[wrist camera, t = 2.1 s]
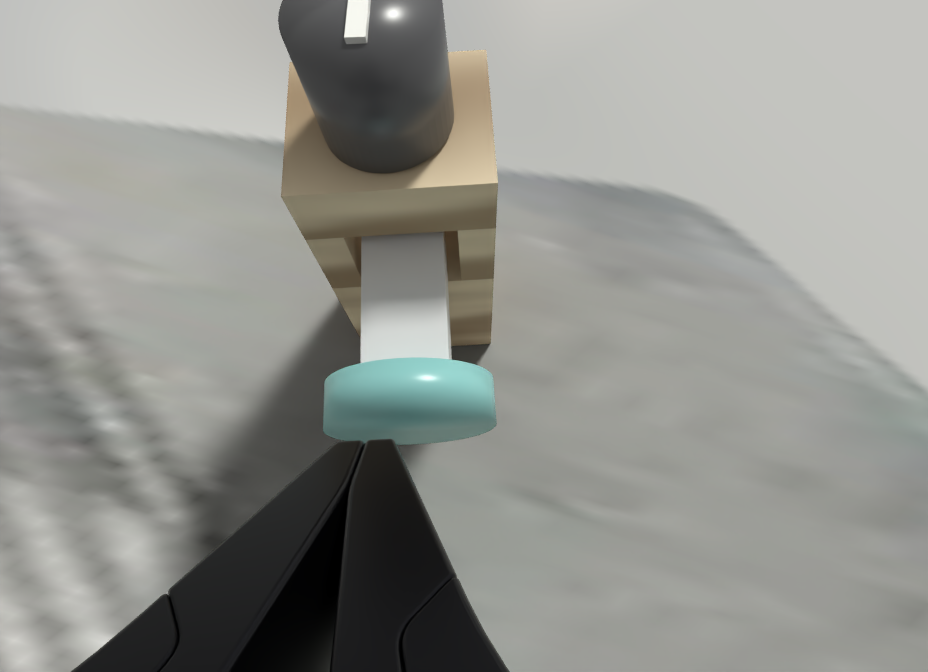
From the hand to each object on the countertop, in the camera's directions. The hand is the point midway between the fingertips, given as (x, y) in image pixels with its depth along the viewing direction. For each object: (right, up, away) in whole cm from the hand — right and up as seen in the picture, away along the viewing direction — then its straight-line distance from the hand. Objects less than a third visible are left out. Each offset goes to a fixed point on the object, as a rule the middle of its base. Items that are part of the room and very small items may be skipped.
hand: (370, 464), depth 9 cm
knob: (0, +1, +9) cm, 10 cm away
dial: (0, +7, +5) cm, 9 cm away
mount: (0, +3, +16) cm, 16 cm away
